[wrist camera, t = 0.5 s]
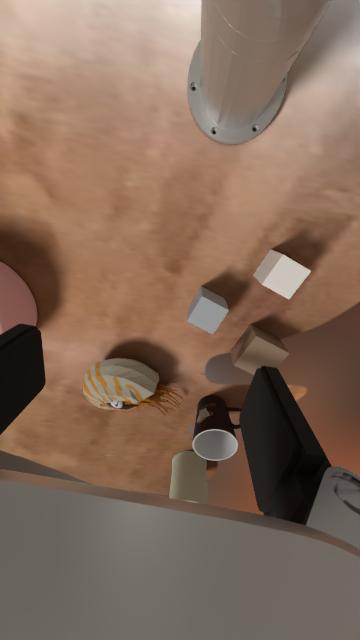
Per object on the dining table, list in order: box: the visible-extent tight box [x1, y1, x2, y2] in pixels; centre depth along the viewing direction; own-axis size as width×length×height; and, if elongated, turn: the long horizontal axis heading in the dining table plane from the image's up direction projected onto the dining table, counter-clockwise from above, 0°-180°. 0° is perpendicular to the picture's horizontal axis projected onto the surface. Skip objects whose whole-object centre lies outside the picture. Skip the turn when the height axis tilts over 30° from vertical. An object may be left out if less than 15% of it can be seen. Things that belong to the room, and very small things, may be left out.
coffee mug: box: [193, 396, 242, 461], centre depth 48 cm, size 12×9×10 cm
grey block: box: [187, 286, 229, 334], centre depth 40 cm, size 5×5×6 cm
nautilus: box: [83, 358, 184, 415], centre depth 48 cm, size 8×22×15 cm
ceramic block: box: [253, 250, 311, 299], centre depth 36 cm, size 5×5×6 cm
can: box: [169, 451, 208, 505], centre depth 55 cm, size 9×9×12 cm
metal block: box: [230, 324, 289, 375], centre depth 43 cm, size 7×7×5 cm
